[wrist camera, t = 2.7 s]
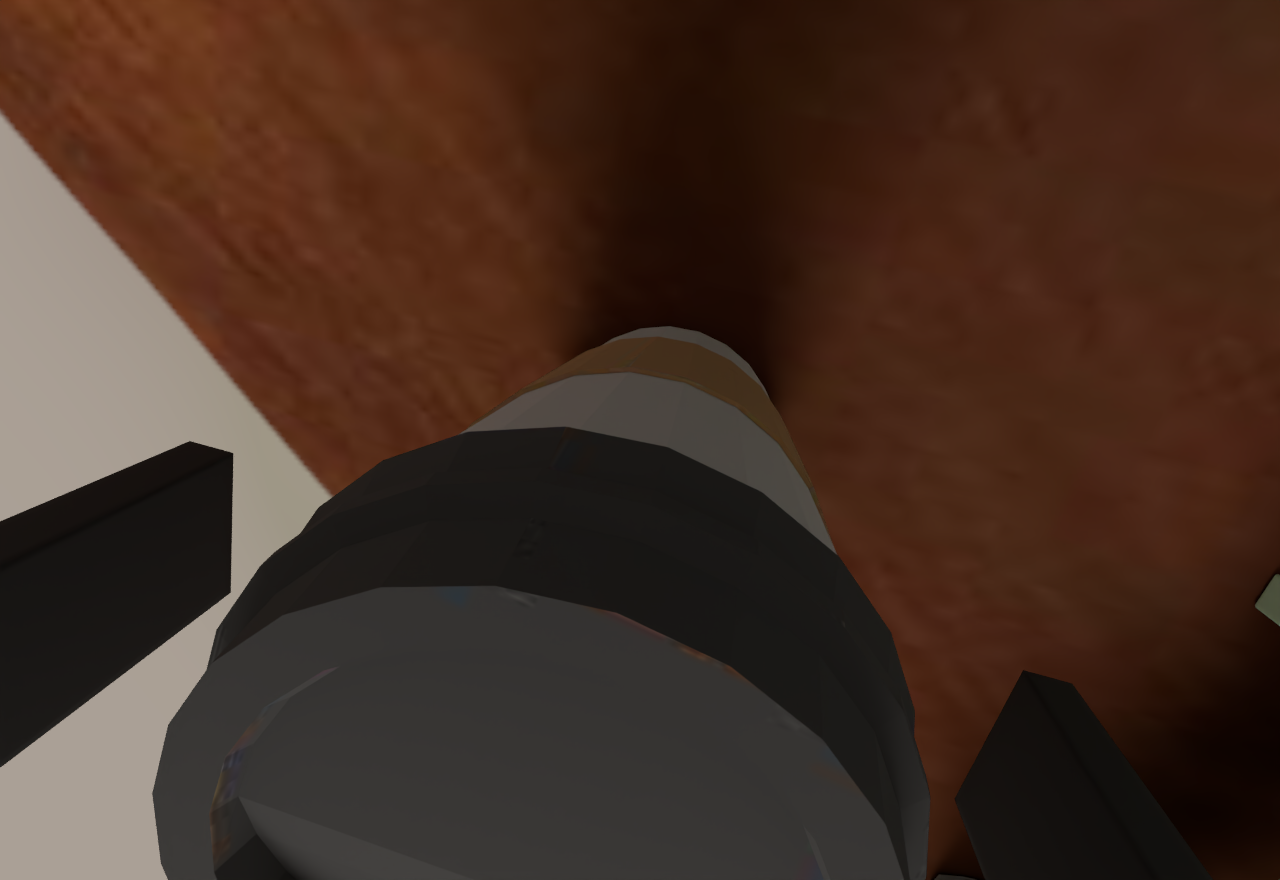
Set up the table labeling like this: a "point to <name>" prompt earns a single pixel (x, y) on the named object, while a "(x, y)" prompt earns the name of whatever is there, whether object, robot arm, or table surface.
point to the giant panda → (952, 877)
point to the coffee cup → (559, 659)
